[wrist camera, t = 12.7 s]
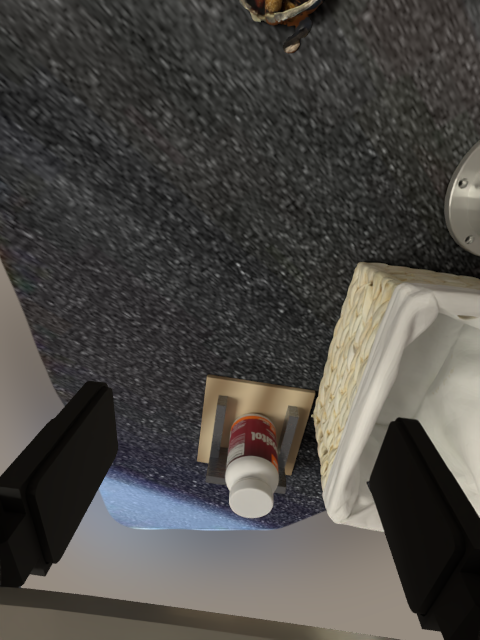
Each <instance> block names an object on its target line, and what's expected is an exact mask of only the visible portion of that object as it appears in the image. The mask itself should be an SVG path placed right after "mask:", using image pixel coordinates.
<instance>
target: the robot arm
mask: <svg viewBox="0 0 480 640" xmlns="http://www.w3.org/2000/svg"><path fill="white" fill-rule="evenodd" d="M459 181H460V185H459V186H458V183H459ZM444 213H445V220H446V225H447V227H448V230H449V233H450V235H451V236H452V237H453V239H454V240H455V242H456V243H457V244H458V245H459V246H461V247H462V248H463V249H464V250H466V251H468V252H470V253H472V254H474V255H477V256H480V140H479V141H478V142H477V143H476V144H475V145H474V146H473V147H472V148H471V149H470V150H469V151H468V153H467V154H466V155H465V156H464V157H463V158H462V160H461V162H460V163H459V165H458V166H457V168H456V170H455V171H454V173H453V176H452V178H451V180H450V183H449V185H448V189H447V193H446V197H445V207H444ZM466 238H467V239H466ZM465 239H466V240H465ZM117 451H118V441H117V431H116V422H115V412H114V402H113V393H112V389H111V388H108V386H107V384H106V383H103V382H94V381H87V382H86V383H85V384H84V385H83V387H82V388H81V389H80V390H79V391H78V392H77V393H76V395H75V396H74V397H73V398H72V399H71V400H70V401H69V403H68V404H67V405H66V406H65V407H64V408H63V409H62V411H61V412H60V413H59V414H58V415H57V416H56V417H55V418H54V419H52V420H51V421H50V422H49V423H47V424H46V426H45V427H44V428H43V429H42V430H41V431H40V432H39V433H38V435H37V436H36V437H35V438H34V439H33V440H32V441H31V443H30V444H29V445H28V446H27V447H26V448H25V449H24V450H23V451H22V453H21V454H20V455H19V456H18V457H17V458H16V459H15V461H14V462H13V463H12V464H11V465H10V466H9V467H8V468H7V470H6V471H5V472H4V473H3V474H2V475H1V476H0V640H399V639H393V638H387V637H380V636H373V635H366V634H359V633H352V632H346V631H339V630H332V629H325V628H318V627H312V626H305V625H297V624H291V623H284V622H277V621H270V620H263V619H256V618H249V617H242V616H234V615H227V614H220V613H213V612H206V611H198V610H192V609H184V608H178V607H170V606H163V605H155V604H148V603H140V602H133V601H126V600H118V599H111V598H103V597H95V596H88V595H79V594H71V593H62V592H53V591H45V590H36V589H27V588H21V586H22V585H23V584H24V583H25V581H26V579H27V577H28V576H29V574H32V575H39V576H46V574H47V572H48V570H49V569H50V567H51V565H52V563H55V564H56V563H57V562H58V561H59V560H60V559H61V557H62V556H63V554H64V552H65V550H66V548H67V546H68V544H69V542H70V540H71V539H72V537H73V535H74V533H75V531H76V530H77V528H78V526H79V524H80V522H81V520H82V518H83V517H84V515H85V513H86V511H87V509H88V507H89V505H90V504H91V502H92V500H93V498H94V496H95V494H96V492H97V490H98V489H99V487H100V485H101V483H102V481H103V479H104V477H105V476H106V474H107V472H108V470H109V468H110V466H111V464H112V463H113V461H114V459H115V457H116V454H117ZM369 485H370V490H371V493H372V496H373V499H374V502H375V505H376V508H377V511H378V514H379V517H380V520H381V523H382V526H383V529H384V532H385V535H386V538H387V541H388V544H389V547H390V550H391V553H392V556H393V559H394V562H395V565H396V569H397V571H398V575H399V578H400V581H401V584H402V587H403V590H404V593H405V596H406V599H407V602H408V604H409V607H410V609H411V610H412V612H413V613H417V616H418V619H419V621H420V624H421V627H422V629H427V630H433V631H440V632H441V633H442V635H443V638H444V640H480V517H479V516H478V514H477V512H476V511H475V509H474V508H473V506H472V504H471V503H470V501H469V500H468V498H467V496H466V495H465V493H464V492H463V490H462V488H461V487H460V485H459V484H458V482H457V480H456V479H455V477H454V476H453V474H452V472H451V471H450V470H449V468H448V467H447V465H446V464H445V462H444V460H443V459H442V457H441V456H440V454H439V452H438V451H437V449H436V448H435V446H434V444H433V443H432V441H431V440H430V438H429V436H428V435H427V433H426V432H425V430H424V428H423V427H422V425H421V423H420V422H419V421H418V420H416V419H409V418H401V417H398V418H397V419H396V420H395V421H391V422H390V424H389V427H388V429H387V432H386V435H385V437H384V440H383V443H382V446H381V448H380V451H379V454H378V456H377V459H376V462H375V465H374V467H373V470H372V473H371V476H370V480H369Z"/></svg>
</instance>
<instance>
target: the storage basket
mask: <svg viewBox="0 0 480 640" xmlns="http://www.w3.org/2000/svg"><path fill="white" fill-rule="evenodd" d="M318 395H319V396H318V397H317V400H316V406H315V409H314V412H313V413H314V414H313V415H311V417H314V425H315V428H316V429H315V431H316V439H317V442H318V455H319V457H320V463H321V475H322V477H321V483H322V489H323V499H324V502H325V507H326V509H327V513H328V516H329V517H330V518H331V519H332V520H333V521H334V522H335V523H337V524H346V525H351V526H355V527H358V528H364V529H370V530H376V531H382V532H384V529H383V526H382V523H381V520H380V517H379V514H378V511H377V508H376V505H375V502H374V499H373V497H372V494H371V492H370V491H369V488H368V486H367V484H366V482H367V481H369V480H370V476H371V473H372V470H373V467H374V465H375V462H376V459H377V456H378V454H379V451H380V448H381V446H382V443H383V440H384V437H385V435H386V432H387V429H388V427H389V424H390V422H391V421H395V420H396V419H397V418H398V417H401V418H409V419H416V420H418V421H419V422H420V423H421V425H422V427H423V428H424V430H425V432H426V433H427V435H428V436H429V438H430V440H431V441H432V443H433V444H434V446H435V448H436V449H437V451H438V452H439V454H440V456H441V457H442V459H443V460H444V462H445V464H446V465H447V467H448V468H449V470H450V471H451V472H452V474H453V476H454V477H455V479H456V480H457V482H458V484H459V485H460V487H461V488H462V490H463V492H464V493H465V495H466V496H467V498H468V500H469V501H470V503H471V504H472V506H473V508H474V509H475V511H476V512H477V514H478V516H479V517H480V279H478V278H475V277H469V276H462V275H460V276H457V275H454V274H448V273H438V272H434V271H430V270H424V269H412V268H408V267H401V266H390V265H387V264H384V263H366V262H360V263H358V265H357V267H356V268H355V272H354V275H353V278H352V282H351V284H350V286H349V289H348V293H347V297H346V299H345V301H344V304H343V306H342V311H341V318H340V319H339V321H338V322H337V324H336V327H335V329H334V337H333V339H332V342H331V344H330V348H329V353H328V360H327V362H326V365H325V368H324V376H323V378H322V380H321V383H320V387H319V393H318Z"/></svg>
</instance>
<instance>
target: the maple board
mask: <svg viewBox="0 0 480 640" xmlns="http://www.w3.org/2000/svg"><path fill="white" fill-rule="evenodd" d="M219 395H222V396H228V399H227V406H226V412H225V419H224V425H223V432H222V438H221V444H220V447H224V448H229V440H230V432H231V427H232V425H233V423H234V421H235V420H236V419H237V418H239V417H241V416H243V415H245V414H259V415H262V416H265V417H267V418H268V419H269V420H270V421H271V422H272V423H273V424H274V426H275V429H276V441H277V447H278V443H279V439H280V435H281V431H282V428H283V424H284V420H285V416H286V412H287V408H288V405H289V406H296V407H297V408H298V414H299V419H298V423H297V426H296V430H295V433H294V437H293V440H292V444H291V448H290V451H289V455H288V458H287V462H286V465H285V475H291V474H292V470H293V467H294V464H295V460H296V457H297V454H298V450H299V447H300V444H301V440H302V437H303V433H304V430H305V427H306V423H307V420H308V417H309V413H310V410H311V406H312V403H313V400H314V396H315V391H314V390H307V389H301V388H294V387H287V386H281V385H274V384H268V383H261V382H254V381H248V380H241V379H235V378H228V377H221V376H215V375H207V382H206V390H205V399H204V407H203V416H202V424H201V433H200V441H199V449H198V458H197V461H198V462H205V463H209V458H210V451H211V444H212V437H213V430H214V422H215V415H216V408H217V402H218V397H219Z"/></svg>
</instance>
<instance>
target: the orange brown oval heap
mask: <svg viewBox="0 0 480 640" xmlns="http://www.w3.org/2000/svg"><path fill="white" fill-rule="evenodd" d="M322 2H324V0H240V3H241V4H242V5H243V6H244V7H245V8H247V9H248V10H249V11H250V13H251V15H252V18H253V20H254V21H258V22H261V20H262V21H265V22H267V23H268V24H270V25H278V24H279V23H281V25H282V24H284V25H286V24H287V26H293V25H296V29H295V34H293V35H292V36H291V37H288V39H287V40H286V41H285V42H284V45H283V49H284V51H285V52H286V53H293V52H295V51H296V50H297V49H298V47H299V45H300V39H301V38H303V37H306V36H307V35H308V33H309V32H310V30H311V27H312V25H311V24H312V22H311V20H310V19H309V16H308V14H310V13H312V12H313V11H315V10H316V9H317V8H318V6H319V5H320V4H322Z"/></svg>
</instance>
